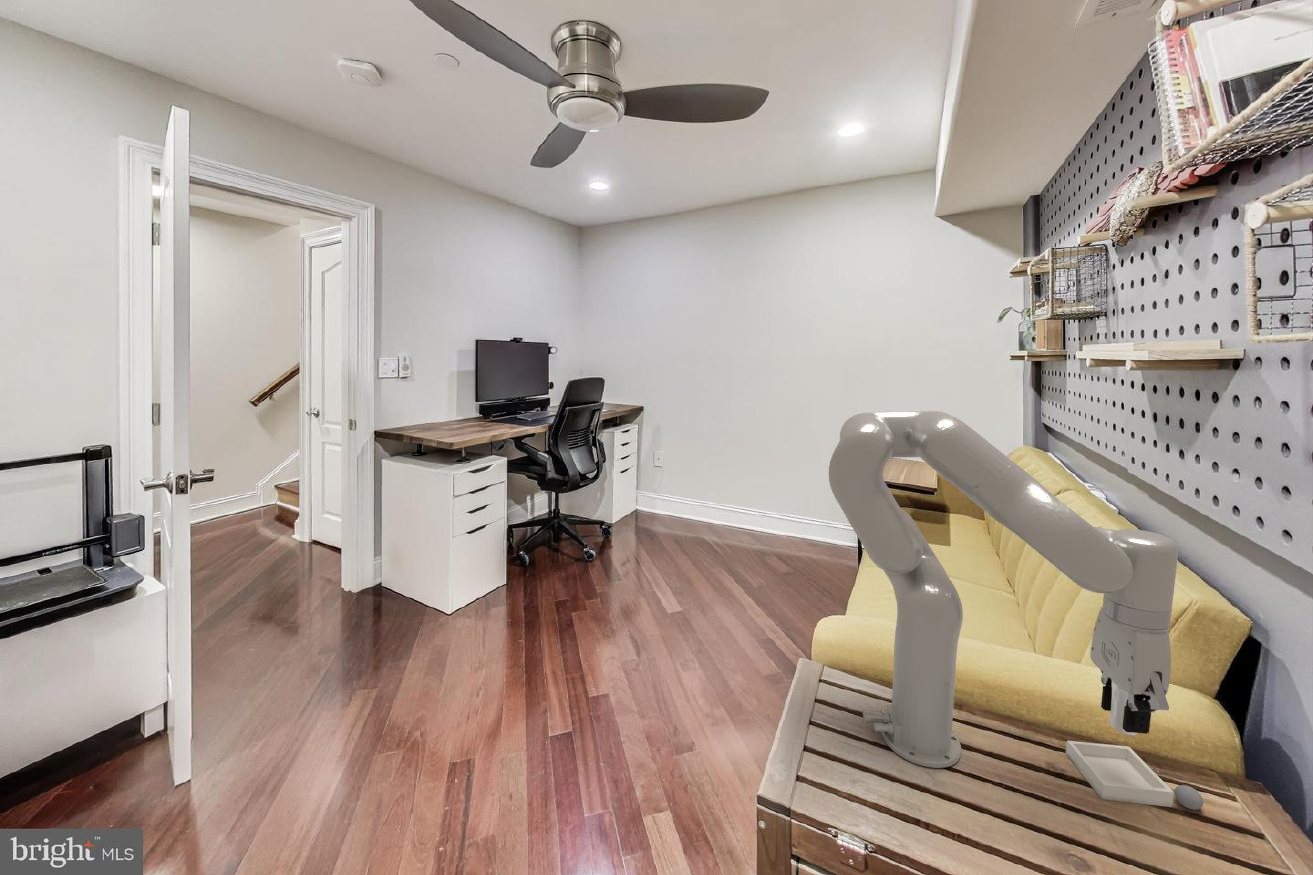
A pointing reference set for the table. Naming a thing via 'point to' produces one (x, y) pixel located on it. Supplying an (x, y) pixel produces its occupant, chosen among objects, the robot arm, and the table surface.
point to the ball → (1188, 797)
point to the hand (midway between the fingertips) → (1124, 719)
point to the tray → (1119, 774)
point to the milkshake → (1119, 707)
